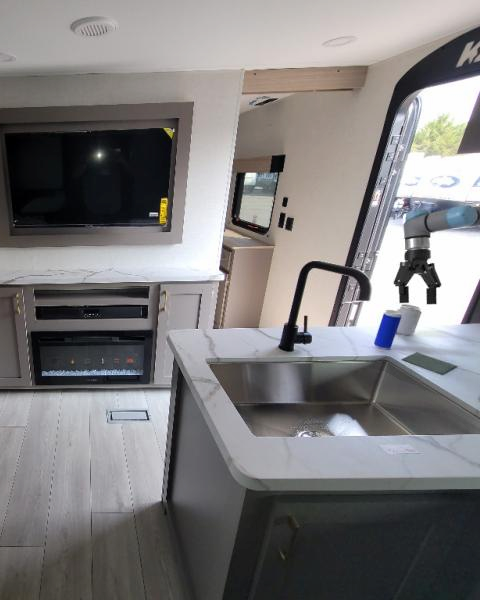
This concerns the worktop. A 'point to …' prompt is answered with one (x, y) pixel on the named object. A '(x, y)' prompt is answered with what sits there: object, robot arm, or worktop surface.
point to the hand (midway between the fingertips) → (418, 303)
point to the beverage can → (387, 329)
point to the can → (408, 319)
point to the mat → (429, 363)
